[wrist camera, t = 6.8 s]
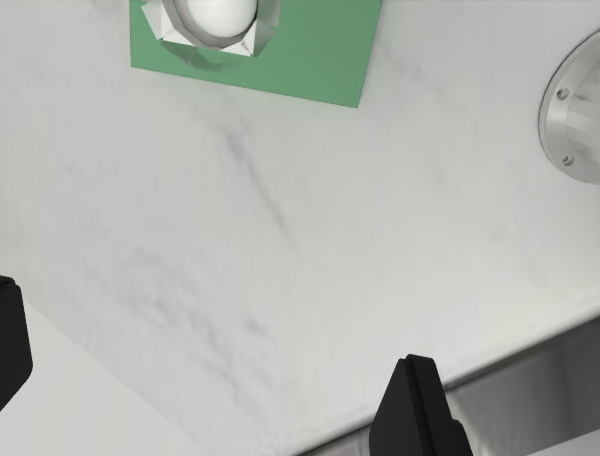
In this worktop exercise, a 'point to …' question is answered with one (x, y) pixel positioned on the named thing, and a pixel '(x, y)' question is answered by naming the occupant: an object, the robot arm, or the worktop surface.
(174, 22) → the green flat slab
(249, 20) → the ball
